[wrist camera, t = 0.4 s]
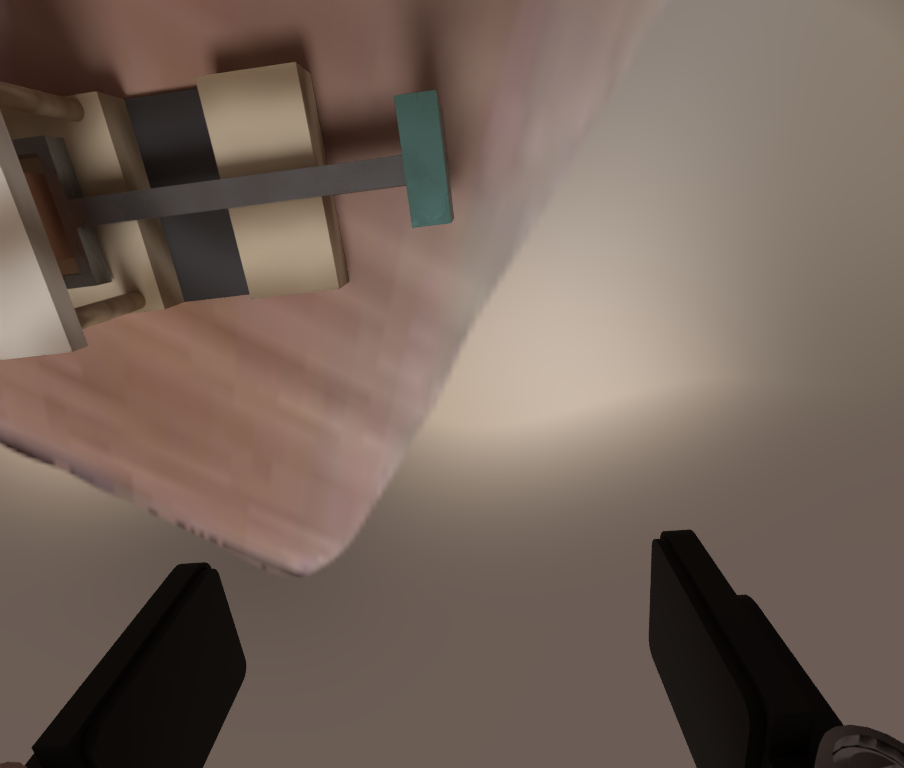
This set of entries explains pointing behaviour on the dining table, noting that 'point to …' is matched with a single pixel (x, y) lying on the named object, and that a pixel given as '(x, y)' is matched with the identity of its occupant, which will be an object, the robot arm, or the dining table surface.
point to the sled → (252, 186)
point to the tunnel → (168, 238)
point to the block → (49, 215)
